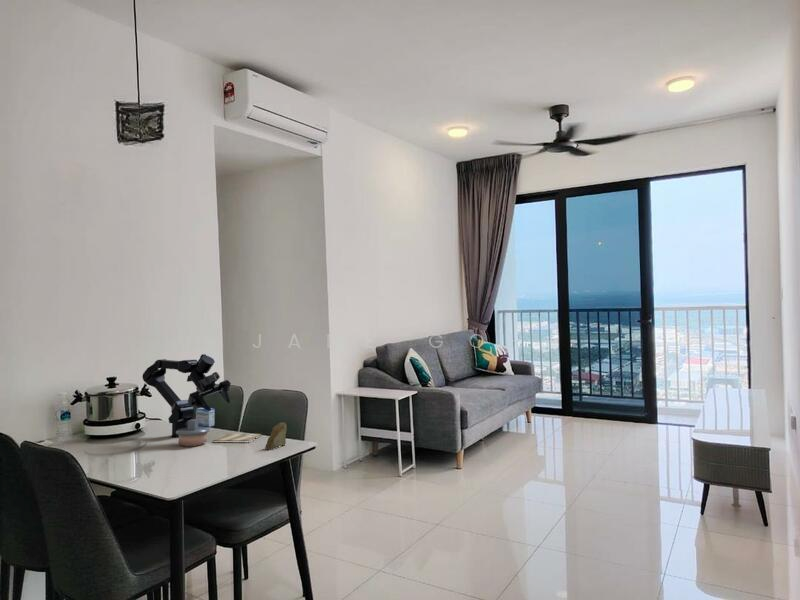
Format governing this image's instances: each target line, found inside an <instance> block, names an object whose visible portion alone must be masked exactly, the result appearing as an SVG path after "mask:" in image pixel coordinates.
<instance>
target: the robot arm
mask: <svg viewBox="0 0 800 600" xmlns="http://www.w3.org/2000/svg"><path fill="white" fill-rule="evenodd" d="M215 362H216V361H215V360H214V358H213V357H211V356H209V355H206V354H205V353H203V354H202V353H201V355H200V356H199V359H198V360H197V359H184V360H172V359H171V360H169V359H165V358H163V359H157V360H155V361H154V363H153V364H151V365H150V366H148V367H147V368H146V369H145V370H144V371H143V374H142V380H143V382H144V383H146V384H147V385H149V386H150V387H153V388H155V390H157V392H158V393H159V394H160V395H161V397H162V398H163V399H164V401H166V402H167V404H168V405H169V406H170V407H171V412H170V413H171V414H170V415H169V417H168V423H169V424H171V428H172V429H171V435H170V436H179V435H177V434H176V430H178V429H182V428H188V420H191V419H193V416H194V413H195V411H194V407H198V408H204V409H206V410H208V411H211V408H212V407H211V406H210V405H209V404H208V403H207V401H206V400H205V399H204V398H205V397H207V396H209V395H210V396H211V395H213V394H215V393H219V394H220V396H221V398H223V400H224V401H225V402H226V403H228V404H230V402H231V400H230V397H229V396H230V395H229V390H230V388H231V384H232V383H231V382H230V380H228V379H225V380H223V381H220V382H219V384H218V386H216V382H218V380H219V379H220V378H221V376H220V375H219V373H218V372H217V371H214V372H213V373H211V374H210V375H208V376H206V374H208V373H209V372H210V370H211V369H212V367H213V366H214V364H215ZM167 370H177V371H178V372H180V373H182V374H188V375H187V378H186V382H189V383H190V382H192V383H193V384H194V385H195V390H196V391H193V392H191V393H189V395H188V398H187V399H182V400H181V398H180V397H179V396H178V395H177V394H176V393H175V391H174V390H173V389H172V388H171V387H170V386H169V384H168V383H167V382H166V381H165V375H166V373H167ZM215 386H216V387H215ZM193 406H194V407H193Z"/></svg>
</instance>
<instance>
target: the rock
mask: <svg viewBox="0 0 800 600" xmlns="http://www.w3.org/2000/svg"><path fill="white" fill-rule="evenodd" d="M286 434H287V423H286V422H284V421H283V422H278V423H277V424H276V425H274V426H273V427H272V431H271V433H270V436H268V438H267V442H266V444H265V446H264V449H265V450H268V451H269V450H272V449H273V448H274V449H277V448H276V447H278V448H280V447H279V446H281V447H283V446H282V445H284V446H286V445H285V444H286V442H287V441H286V440H287V438H286V436H287V435H286Z"/></svg>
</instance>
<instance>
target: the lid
mask: <svg viewBox="0 0 800 600" xmlns="http://www.w3.org/2000/svg"><path fill="white" fill-rule="evenodd" d="M209 432H210V427H200V426H198V419H196V418H194V419H193V418H192V419H191V420H188V428H182V429H178V430H176V434H177V435H198V434H204V433H207V434H208V433H209Z"/></svg>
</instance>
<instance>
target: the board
mask: <svg viewBox="0 0 800 600" xmlns="http://www.w3.org/2000/svg"><path fill="white" fill-rule="evenodd" d="M246 434H247V433H225V434H223V435H221V436H218V437H217V438H214V439H213V440H212V442H213V441H251V440H253V439H254V438H256V437H257V436H261V437H262V433H249V434H250V435H246ZM251 435H257V436H251Z"/></svg>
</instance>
